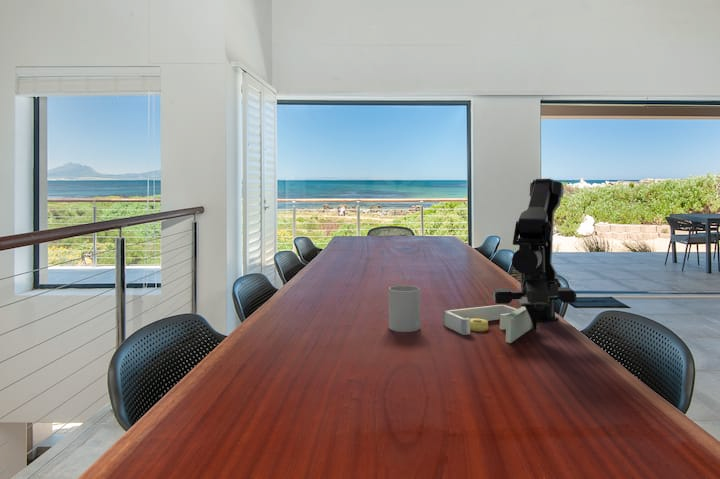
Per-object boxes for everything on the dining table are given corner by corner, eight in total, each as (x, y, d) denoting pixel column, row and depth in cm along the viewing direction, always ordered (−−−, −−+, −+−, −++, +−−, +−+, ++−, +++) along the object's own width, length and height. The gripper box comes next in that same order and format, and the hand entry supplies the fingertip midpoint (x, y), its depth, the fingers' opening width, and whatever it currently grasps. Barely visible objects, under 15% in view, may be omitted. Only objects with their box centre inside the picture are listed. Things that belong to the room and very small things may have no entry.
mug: (415, 333, 120) (415, 292, 119) (384, 330, 123) (384, 290, 122) (426, 322, 131) (426, 284, 130) (397, 319, 134) (397, 282, 133)
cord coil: (480, 324, 128) (480, 317, 128) (492, 330, 123) (492, 322, 123) (462, 326, 126) (462, 319, 126) (474, 332, 121) (474, 324, 121)
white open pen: (504, 317, 135) (504, 295, 135) (532, 328, 124) (532, 304, 124) (443, 325, 128) (443, 302, 127) (467, 336, 117) (467, 311, 116)
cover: (526, 328, 124) (526, 304, 124) (533, 329, 123) (533, 304, 123) (505, 342, 112) (506, 315, 112) (513, 343, 111) (513, 316, 111)
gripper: (496, 273, 108) (498, 339, 109) (582, 271, 104) (583, 339, 105) (492, 266, 118) (494, 326, 120) (569, 264, 115) (571, 326, 116)
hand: (534, 329), depth 115 cm, fingers closed
